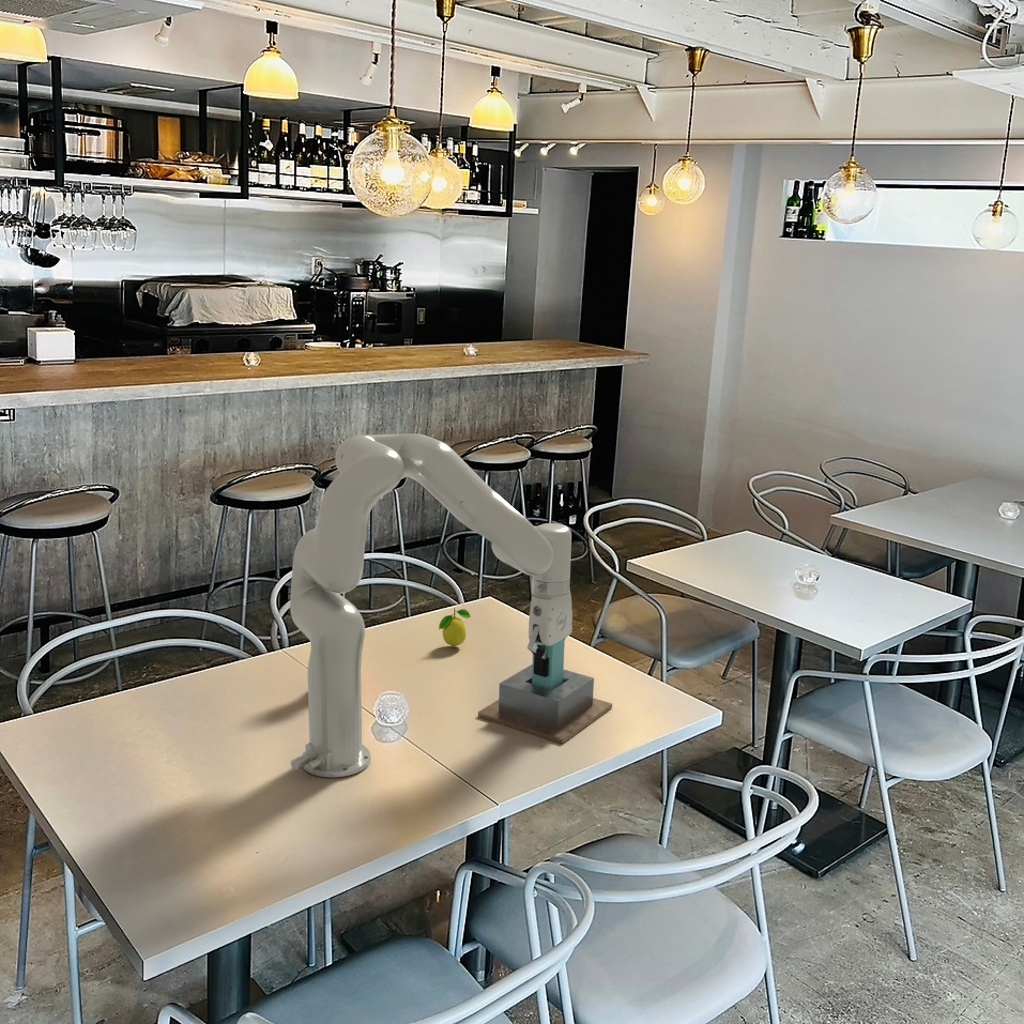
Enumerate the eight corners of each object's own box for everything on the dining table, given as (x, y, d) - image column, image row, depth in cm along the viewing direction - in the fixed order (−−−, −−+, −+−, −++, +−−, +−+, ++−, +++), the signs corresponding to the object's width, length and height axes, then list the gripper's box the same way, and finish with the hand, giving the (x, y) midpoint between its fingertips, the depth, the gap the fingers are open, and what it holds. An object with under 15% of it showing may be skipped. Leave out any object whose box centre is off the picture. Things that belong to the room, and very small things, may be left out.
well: (562, 744, 204) (564, 710, 203) (478, 716, 215) (478, 684, 213) (612, 708, 220) (613, 676, 219) (531, 684, 231) (532, 654, 229)
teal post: (550, 697, 213) (552, 641, 210) (531, 691, 216) (533, 636, 213) (562, 689, 217) (564, 635, 214) (543, 684, 220) (545, 630, 217)
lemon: (470, 643, 253) (470, 603, 251) (466, 652, 247) (467, 612, 245) (442, 641, 254) (442, 602, 251) (438, 650, 248) (438, 610, 245)
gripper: (544, 601, 202) (541, 689, 207) (588, 578, 216) (584, 662, 220) (511, 593, 206) (509, 680, 211) (556, 571, 220) (553, 653, 224)
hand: (547, 670), depth 215 cm, fingers closed on teal post, 4 cm apart
